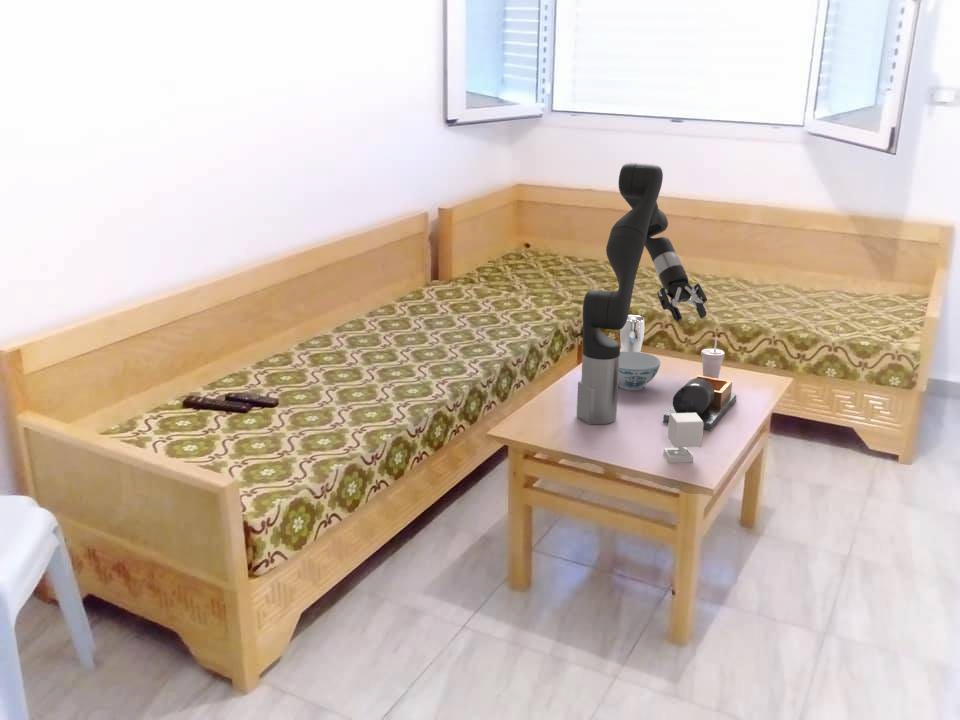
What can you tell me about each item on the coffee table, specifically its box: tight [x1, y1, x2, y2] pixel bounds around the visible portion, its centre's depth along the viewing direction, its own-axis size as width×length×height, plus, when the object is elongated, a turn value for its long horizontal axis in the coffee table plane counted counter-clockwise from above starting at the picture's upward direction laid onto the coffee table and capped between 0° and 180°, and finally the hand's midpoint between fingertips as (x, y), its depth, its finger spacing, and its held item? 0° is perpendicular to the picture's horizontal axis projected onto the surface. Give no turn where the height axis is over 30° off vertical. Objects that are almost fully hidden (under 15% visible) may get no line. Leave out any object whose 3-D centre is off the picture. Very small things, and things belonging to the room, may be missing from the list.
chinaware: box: [618, 351, 661, 391], centre depth 251 cm, size 15×15×8 cm
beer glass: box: [619, 314, 645, 352], centre depth 265 cm, size 7×7×15 cm
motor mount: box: [663, 374, 737, 432], centre depth 233 cm, size 24×12×10 cm, turn 150°
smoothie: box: [700, 336, 726, 379], centre depth 251 cm, size 6×6×14 cm
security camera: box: [663, 413, 704, 464], centre depth 206 cm, size 6×7×10 cm
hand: (691, 318), depth 257 cm, fingers open, 8 cm apart
